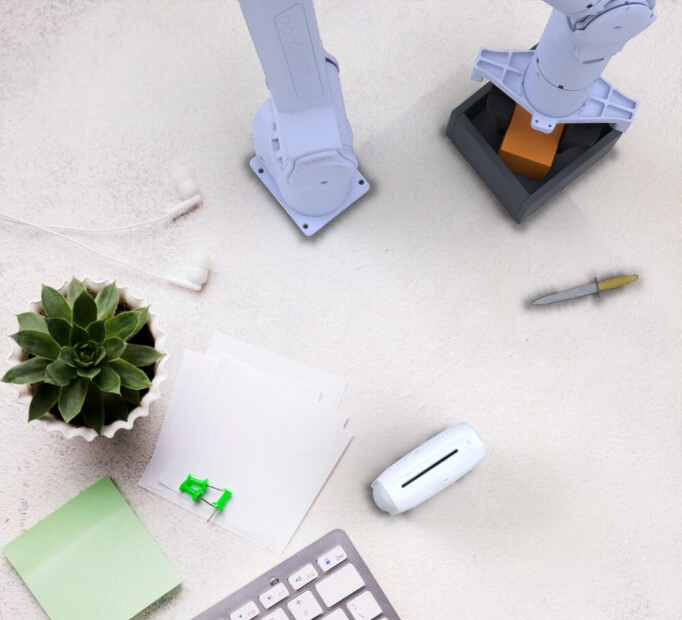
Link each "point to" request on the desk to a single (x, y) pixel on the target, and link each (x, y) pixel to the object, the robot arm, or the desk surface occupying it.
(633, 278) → the dagger
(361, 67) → the desk surface
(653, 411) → the desk surface
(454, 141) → the bin
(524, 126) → the block
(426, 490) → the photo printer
